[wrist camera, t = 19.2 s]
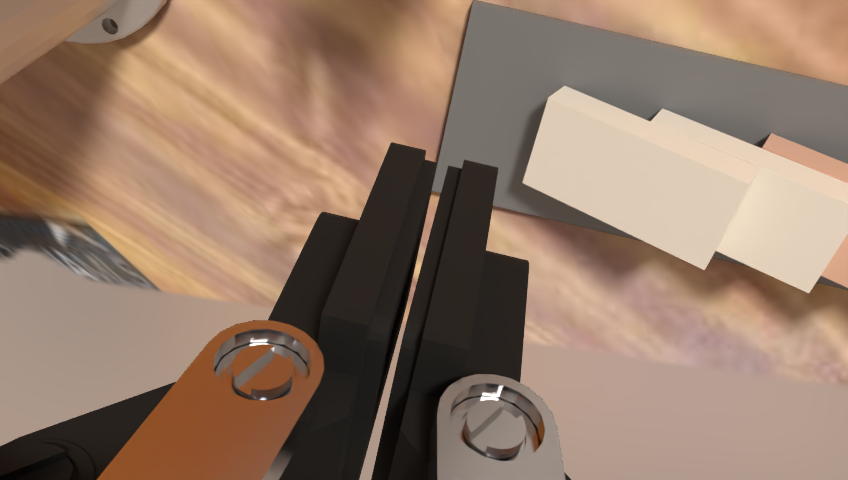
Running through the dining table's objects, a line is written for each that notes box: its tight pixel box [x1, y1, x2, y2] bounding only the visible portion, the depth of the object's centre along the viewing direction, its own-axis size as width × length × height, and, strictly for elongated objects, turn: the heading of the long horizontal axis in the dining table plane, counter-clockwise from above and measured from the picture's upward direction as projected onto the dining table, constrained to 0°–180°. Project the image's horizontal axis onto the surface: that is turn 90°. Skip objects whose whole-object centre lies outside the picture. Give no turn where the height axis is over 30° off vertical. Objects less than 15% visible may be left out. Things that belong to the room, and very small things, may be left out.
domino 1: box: [522, 86, 759, 270], centre depth 37 cm, size 2×5×10 cm
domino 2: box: [651, 108, 848, 293], centre depth 37 cm, size 2×5×10 cm
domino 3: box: [762, 133, 848, 288], centre depth 37 cm, size 2×5×10 cm
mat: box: [432, 0, 848, 290], centre depth 40 cm, size 26×11×1 cm, turn 80°
